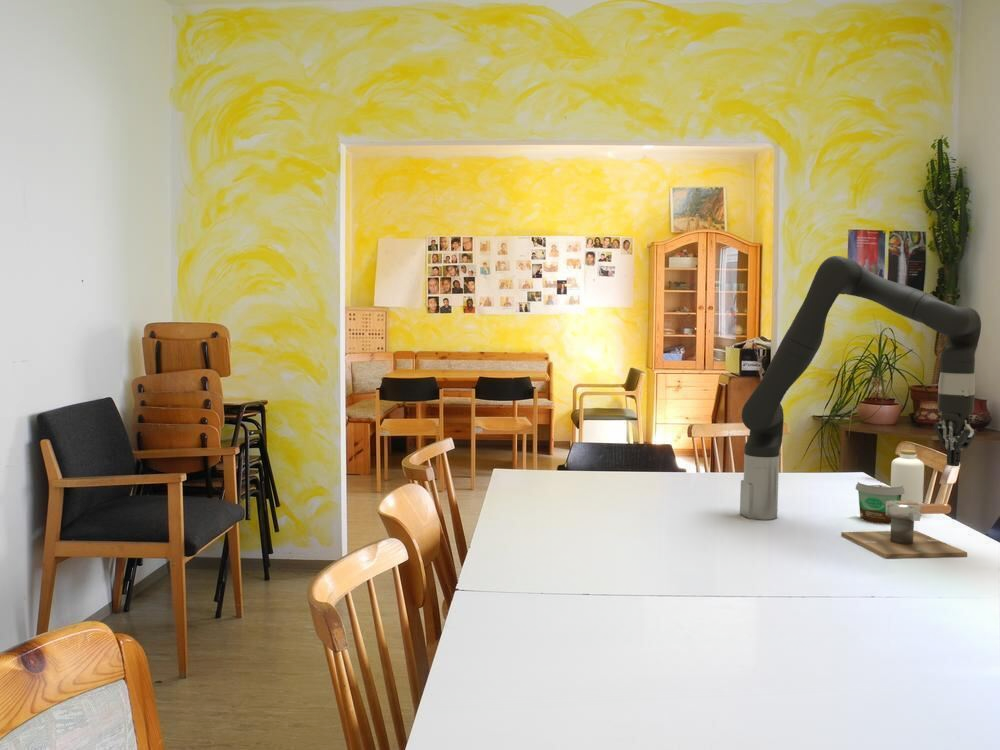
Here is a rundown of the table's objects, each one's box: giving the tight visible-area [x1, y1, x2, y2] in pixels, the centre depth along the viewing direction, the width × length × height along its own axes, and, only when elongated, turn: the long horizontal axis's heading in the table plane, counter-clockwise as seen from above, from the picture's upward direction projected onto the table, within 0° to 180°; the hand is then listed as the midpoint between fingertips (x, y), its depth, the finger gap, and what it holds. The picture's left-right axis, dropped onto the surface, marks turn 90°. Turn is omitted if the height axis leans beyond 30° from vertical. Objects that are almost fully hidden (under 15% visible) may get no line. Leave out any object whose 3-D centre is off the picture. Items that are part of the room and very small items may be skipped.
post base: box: [840, 518, 968, 559], centre depth 203 cm, size 20×20×7 cm
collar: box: [885, 501, 952, 522], centre depth 204 cm, size 16×11×3 cm
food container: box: [855, 481, 905, 524], centre depth 228 cm, size 12×6×10 cm, turn 62°
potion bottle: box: [890, 449, 925, 504], centre depth 237 cm, size 8×8×18 cm
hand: (953, 465), depth 197 cm, fingers closed
